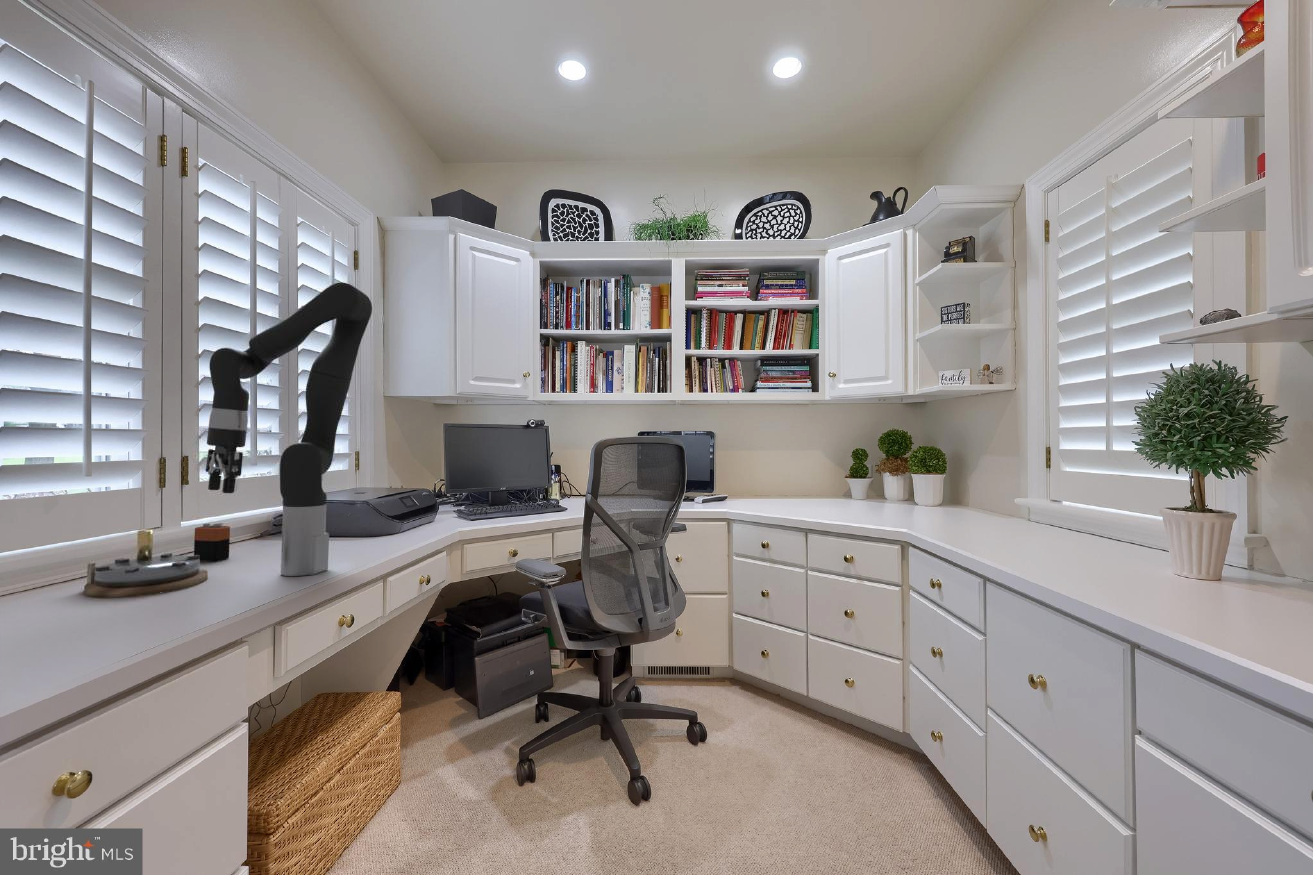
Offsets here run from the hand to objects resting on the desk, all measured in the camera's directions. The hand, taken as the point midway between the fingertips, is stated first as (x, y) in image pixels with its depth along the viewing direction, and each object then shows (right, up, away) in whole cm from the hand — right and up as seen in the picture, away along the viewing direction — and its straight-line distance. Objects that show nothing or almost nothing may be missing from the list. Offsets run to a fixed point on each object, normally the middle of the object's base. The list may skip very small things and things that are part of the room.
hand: (220, 491), depth 130 cm
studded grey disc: (-6, -18, -12) cm, 23 cm away
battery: (-13, -20, +12) cm, 27 cm away
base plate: (-6, -20, -12) cm, 24 cm away
